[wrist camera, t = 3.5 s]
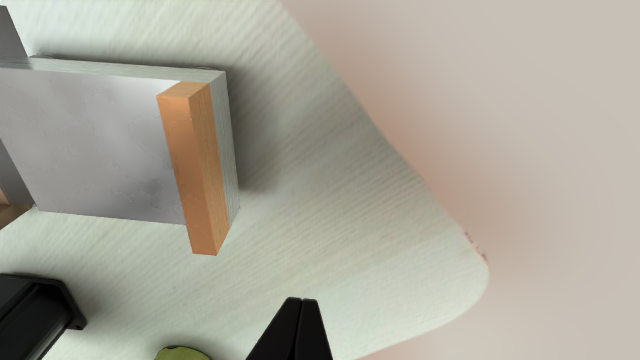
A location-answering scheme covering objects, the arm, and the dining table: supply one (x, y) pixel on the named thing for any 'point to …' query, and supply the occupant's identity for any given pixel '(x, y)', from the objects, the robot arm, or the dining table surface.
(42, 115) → the cart
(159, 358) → the plant pot
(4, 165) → the dock
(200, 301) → the dining table surface
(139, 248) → the dining table surface
